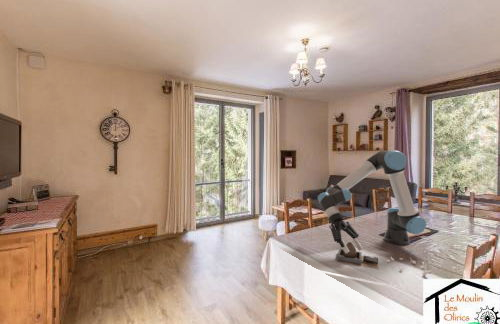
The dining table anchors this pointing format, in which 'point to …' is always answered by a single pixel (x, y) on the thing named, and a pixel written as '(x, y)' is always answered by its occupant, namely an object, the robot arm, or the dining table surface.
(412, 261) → the game piece set
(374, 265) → the flange board
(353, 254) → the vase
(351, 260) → the grey tray board
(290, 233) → the dining table surface
